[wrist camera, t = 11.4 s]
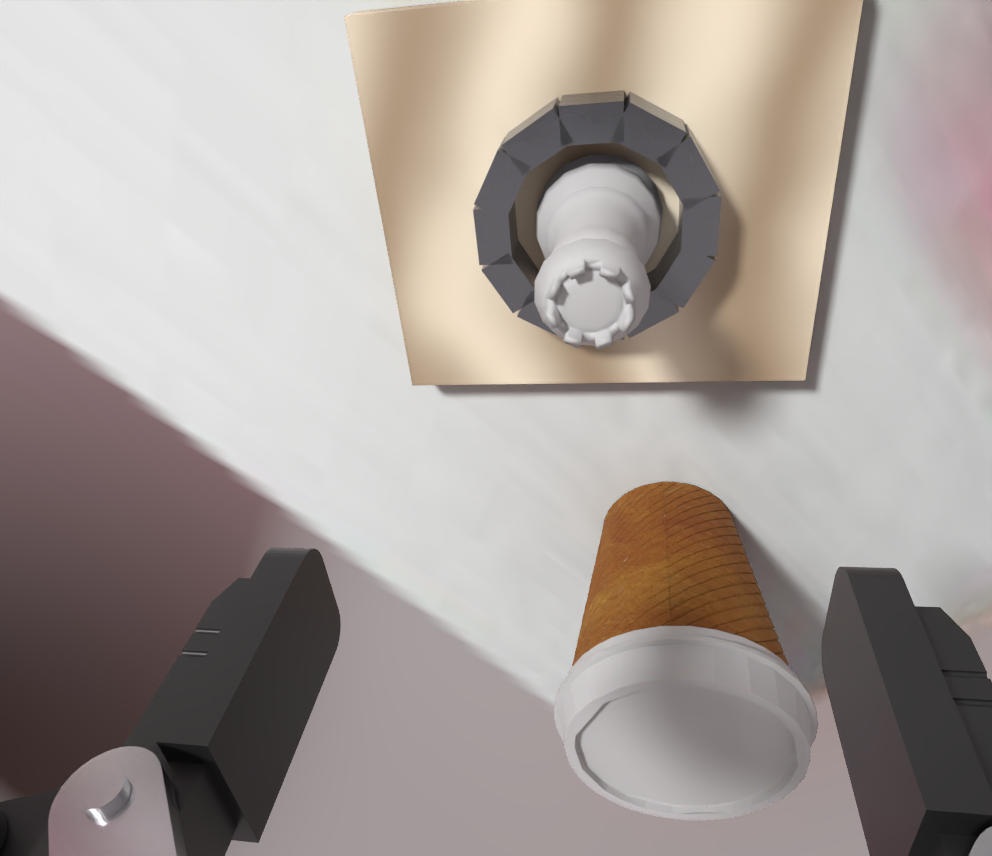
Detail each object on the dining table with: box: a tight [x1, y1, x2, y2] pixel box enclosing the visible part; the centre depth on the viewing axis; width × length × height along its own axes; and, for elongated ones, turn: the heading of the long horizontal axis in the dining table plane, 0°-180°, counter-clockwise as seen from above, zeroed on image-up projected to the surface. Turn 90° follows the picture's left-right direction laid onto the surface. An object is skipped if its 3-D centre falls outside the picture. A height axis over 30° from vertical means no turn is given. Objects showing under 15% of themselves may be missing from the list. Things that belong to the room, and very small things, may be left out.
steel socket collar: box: [473, 90, 721, 340], centre depth 26 cm, size 8×8×2 cm
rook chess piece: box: [534, 154, 663, 350], centre depth 23 cm, size 4×4×8 cm
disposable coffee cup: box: [554, 482, 818, 820], centre depth 32 cm, size 10×10×12 cm
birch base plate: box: [344, 0, 863, 385], centre depth 27 cm, size 16×14×2 cm
